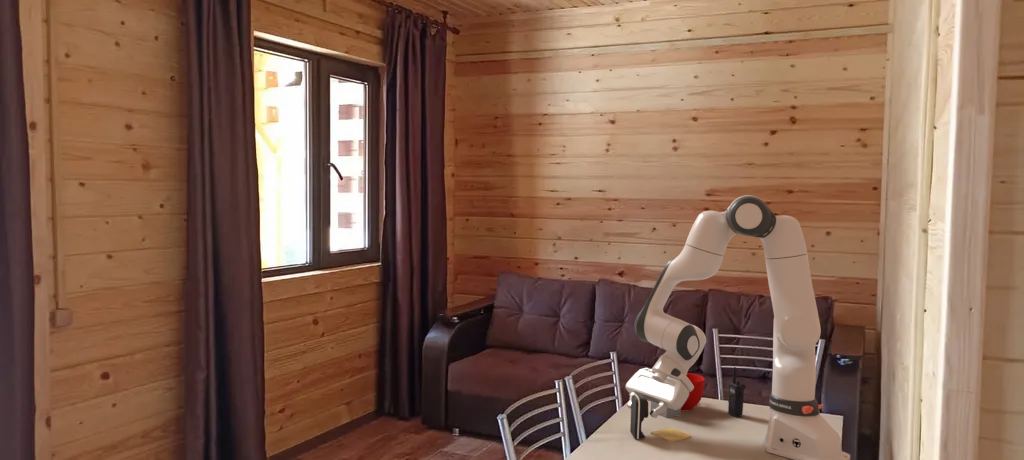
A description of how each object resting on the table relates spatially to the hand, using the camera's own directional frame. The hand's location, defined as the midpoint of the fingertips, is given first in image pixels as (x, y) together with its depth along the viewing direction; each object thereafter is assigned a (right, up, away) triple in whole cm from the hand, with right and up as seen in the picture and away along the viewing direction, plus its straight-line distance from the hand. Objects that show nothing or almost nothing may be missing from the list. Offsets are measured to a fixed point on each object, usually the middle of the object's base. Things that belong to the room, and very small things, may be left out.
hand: (640, 411), depth 214 cm
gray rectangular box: (+12, -6, +23) cm, 27 cm away
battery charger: (-1, -7, 0) cm, 7 cm away
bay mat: (+9, -7, +1) cm, 11 cm away
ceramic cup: (+19, -6, +32) cm, 38 cm away
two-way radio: (+34, -7, +24) cm, 42 cm away
